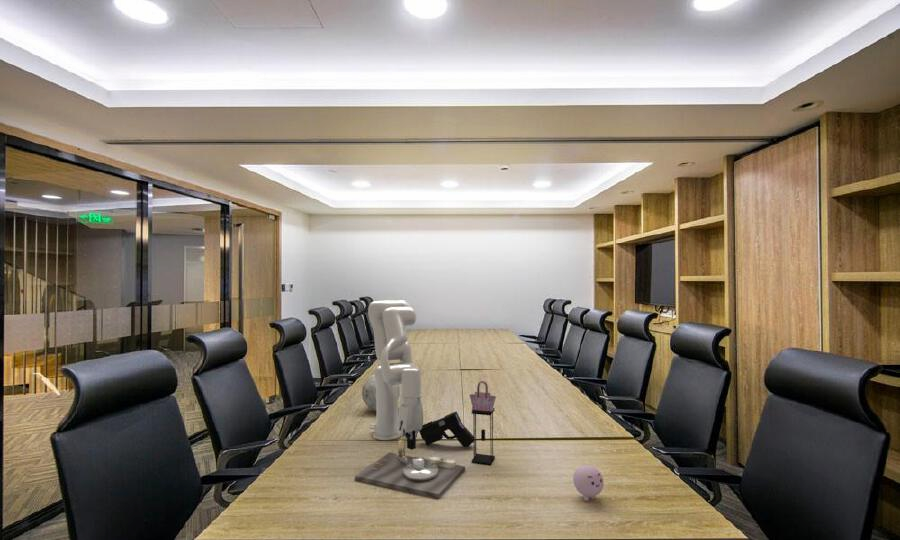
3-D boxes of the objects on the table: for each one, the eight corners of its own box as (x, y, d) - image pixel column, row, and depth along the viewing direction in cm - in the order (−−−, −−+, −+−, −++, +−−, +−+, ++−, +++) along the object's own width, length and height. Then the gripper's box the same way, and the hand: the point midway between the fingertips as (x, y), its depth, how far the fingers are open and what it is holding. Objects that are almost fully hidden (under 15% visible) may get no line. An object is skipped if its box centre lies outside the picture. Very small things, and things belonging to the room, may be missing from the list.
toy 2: (587, 508, 129) (586, 474, 129) (567, 495, 137) (567, 463, 137) (609, 502, 132) (609, 469, 133) (589, 489, 141) (589, 458, 141)
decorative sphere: (381, 403, 241) (380, 367, 242) (407, 409, 230) (407, 371, 230) (354, 412, 225) (354, 373, 226) (381, 419, 214) (381, 378, 214)
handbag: (498, 458, 166) (498, 379, 166) (494, 466, 159) (493, 384, 159) (472, 454, 169) (472, 378, 170) (467, 462, 162) (466, 382, 163)
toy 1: (475, 445, 174) (459, 410, 176) (432, 463, 177) (417, 429, 179) (477, 440, 179) (462, 407, 181) (435, 458, 182) (420, 424, 184)
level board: (354, 480, 148) (354, 468, 148) (389, 456, 168) (389, 446, 168) (438, 498, 135) (438, 486, 135) (465, 470, 155) (464, 459, 155)
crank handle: (444, 474, 148) (444, 453, 148) (415, 484, 141) (414, 462, 141) (410, 453, 167) (410, 434, 167) (382, 460, 160) (382, 441, 160)
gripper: (417, 394, 173) (417, 440, 172) (390, 402, 161) (390, 452, 161) (431, 397, 168) (431, 444, 168) (404, 406, 156) (404, 457, 156)
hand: (411, 448), depth 164 cm, fingers closed
